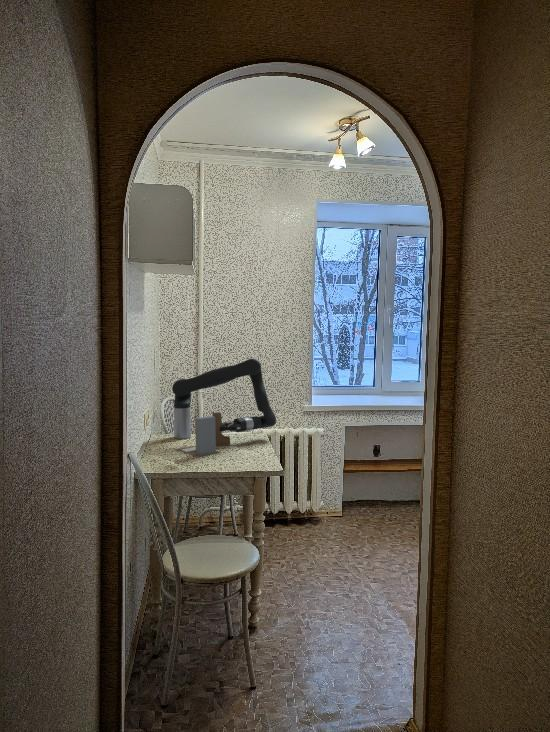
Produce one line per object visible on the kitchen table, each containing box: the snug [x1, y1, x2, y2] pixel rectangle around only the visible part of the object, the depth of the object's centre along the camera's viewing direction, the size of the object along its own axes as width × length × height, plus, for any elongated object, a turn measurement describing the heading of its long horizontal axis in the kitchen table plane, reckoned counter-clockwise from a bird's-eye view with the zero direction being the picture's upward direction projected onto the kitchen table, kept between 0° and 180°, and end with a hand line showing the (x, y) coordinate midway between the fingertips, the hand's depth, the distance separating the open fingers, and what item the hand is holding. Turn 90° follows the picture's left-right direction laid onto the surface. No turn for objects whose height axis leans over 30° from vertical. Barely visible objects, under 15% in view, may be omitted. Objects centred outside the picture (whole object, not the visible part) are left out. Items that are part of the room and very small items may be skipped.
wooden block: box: [211, 411, 231, 447], centre depth 303 cm, size 9×4×18 cm, turn 99°
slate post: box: [194, 415, 217, 456], centre depth 284 cm, size 4×9×18 cm, turn 129°
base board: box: [175, 445, 222, 458], centre depth 290 cm, size 22×14×1 cm, turn 39°
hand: (217, 428), depth 302 cm, fingers closed on wooden block, 5 cm apart
